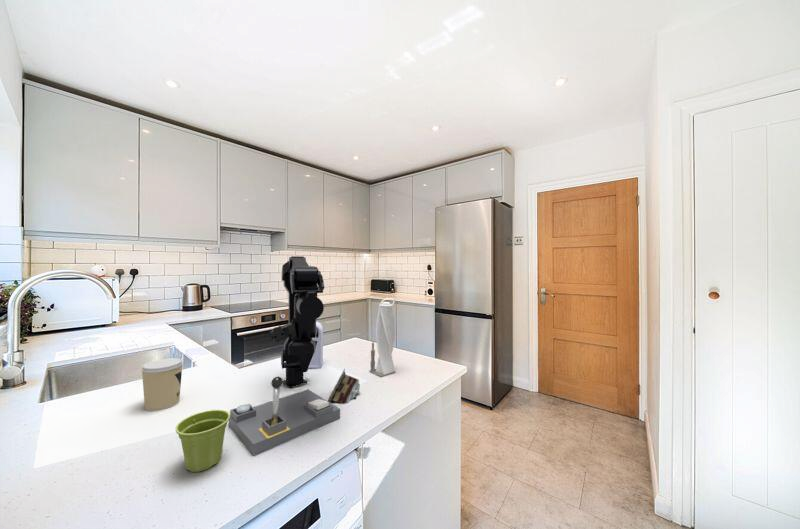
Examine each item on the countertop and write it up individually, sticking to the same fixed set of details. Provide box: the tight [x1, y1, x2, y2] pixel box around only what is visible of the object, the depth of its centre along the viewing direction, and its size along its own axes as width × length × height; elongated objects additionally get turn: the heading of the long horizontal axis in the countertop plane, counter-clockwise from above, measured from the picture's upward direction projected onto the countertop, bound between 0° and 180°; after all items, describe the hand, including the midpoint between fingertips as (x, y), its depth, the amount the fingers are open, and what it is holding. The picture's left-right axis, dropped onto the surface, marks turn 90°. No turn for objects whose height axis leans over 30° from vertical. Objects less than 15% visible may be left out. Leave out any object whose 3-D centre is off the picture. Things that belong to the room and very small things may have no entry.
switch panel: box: [227, 388, 341, 456], centre depth 77 cm, size 17×22×4 cm
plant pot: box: [175, 409, 230, 473], centre depth 61 cm, size 9×9×9 cm
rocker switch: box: [308, 399, 329, 410], centre depth 79 cm, size 5×3×1 cm, turn 46°
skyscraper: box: [368, 297, 397, 378], centre depth 113 cm, size 8×8×28 cm
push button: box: [236, 403, 251, 415], centre depth 75 cm, size 3×3×1 cm
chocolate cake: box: [327, 368, 361, 405], centre depth 93 cm, size 10×7×12 cm
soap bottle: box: [308, 320, 324, 370], centre depth 118 cm, size 9×7×23 cm
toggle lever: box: [270, 376, 284, 426], centre depth 71 cm, size 3×3×11 cm
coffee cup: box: [140, 357, 184, 412], centre depth 86 cm, size 9×9×12 cm
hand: (304, 371), depth 81 cm, fingers closed
